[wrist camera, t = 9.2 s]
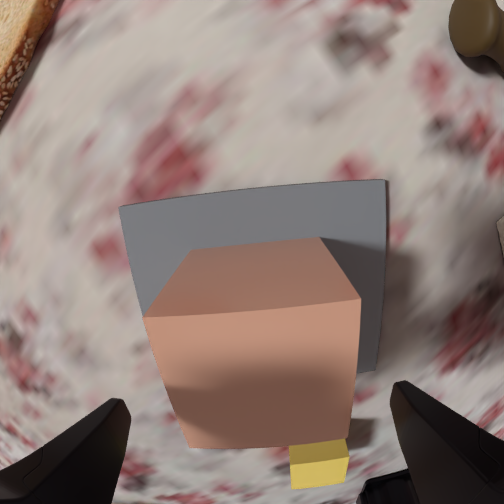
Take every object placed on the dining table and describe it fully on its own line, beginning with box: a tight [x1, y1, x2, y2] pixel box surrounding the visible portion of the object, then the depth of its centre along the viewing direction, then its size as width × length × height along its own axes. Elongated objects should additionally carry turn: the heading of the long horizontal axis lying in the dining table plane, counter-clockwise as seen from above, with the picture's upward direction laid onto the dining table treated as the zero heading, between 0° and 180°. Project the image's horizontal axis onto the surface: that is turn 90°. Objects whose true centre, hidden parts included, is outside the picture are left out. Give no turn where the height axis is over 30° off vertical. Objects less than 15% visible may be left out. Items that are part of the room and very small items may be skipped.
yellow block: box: [289, 438, 349, 489], centre depth 19 cm, size 4×4×4 cm
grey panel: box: [119, 179, 386, 373], centre depth 17 cm, size 14×12×1 cm
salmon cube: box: [142, 237, 361, 449], centre depth 13 cm, size 7×7×7 cm
